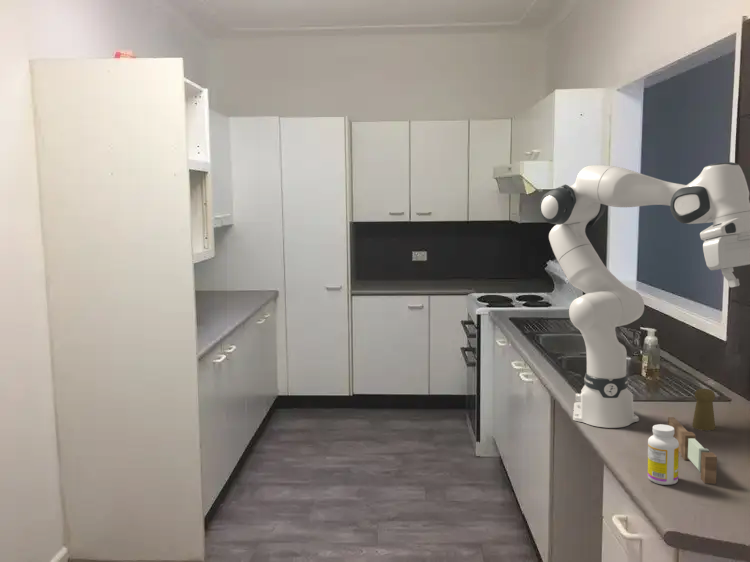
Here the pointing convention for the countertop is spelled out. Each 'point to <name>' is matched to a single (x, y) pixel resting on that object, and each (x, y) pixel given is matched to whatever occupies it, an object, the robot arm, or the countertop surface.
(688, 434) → the fence
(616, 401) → the robot arm
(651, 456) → the supplement bottle
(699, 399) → the cork
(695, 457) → the pale green flat block
